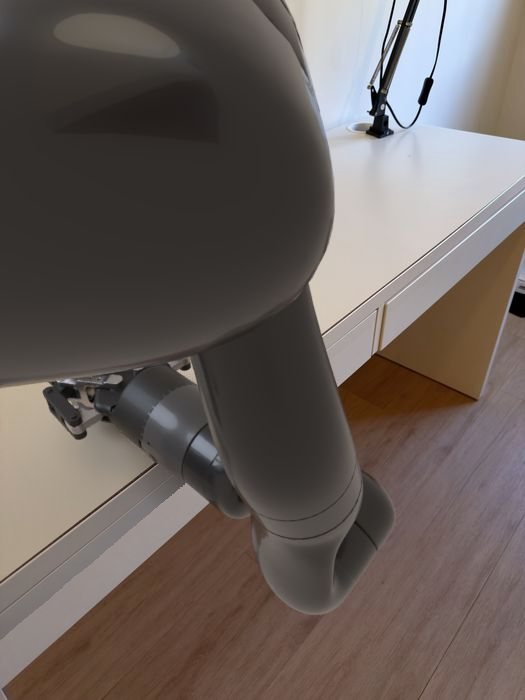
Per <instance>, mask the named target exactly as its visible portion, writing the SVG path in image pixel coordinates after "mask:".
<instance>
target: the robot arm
mask: <svg viewBox="0 0 525 700" xmlns="http://www.w3.org/2000/svg"><path fill="white" fill-rule="evenodd" d="M325 129H326V128H325V125H324V121H323V118H322V115H321V109H320V106H319V102H318V98H317V95H316V90H315V86H314V82H313V79H312V76H311V72H310V68H309V64H308V61H307V57H306V54H305V51H304V47H303V43H302V40H301V36H300V33H299V30H298V26H297V23H296V20H295V18H294V15H293V13H292V12H291V10H290V8H289V5H288V4H287V1H286V0H0V389H7V388H14V387H21V386H29V385H37V384H43V383H48V384H49V386H46V387H45V388H44V389H43V390H42V395H43V398H44V399H45V401H46V404H47V406H48V410H49V412H50V413H51V415H52V416H53V417H54V418H55V419H56V420H57V421H58V422H59V423H60V424H61V426H62V427H63V428H64V429H65V430H66V431H67V432H68V433H69V434H70V435H71V436H72V437H73V439H75V440H77V441H80V440H83V439H85V438H86V437H88V431H87V429H89V428H91V427H92V426H94V425H95V424H97V423H99V422H102V423H106V424H107V423H108V424H111V425H113V426H114V427H115V428H116V429H117V430H119V431H120V432H121V433H122V434H123V435H124V436H125V437H126V438H127V439H129V440H130V441H131V442H132V443H133V444H134V445H136V446H137V447H138V448H139V449H140V450H142V452H144V453H145V454H146V455H148V458H150V459H151V461H153V463H155V464H157V465H159V466H160V467H162V469H164V470H165V471H167V472H168V473H170V474H171V475H173V476H174V477H176V478H178V479H180V480H181V481H182V482H184V483H185V484H187V485H188V486H189V487H190V488H191V489H193V490H194V491H195V492H196V493H197V494H199V495H200V496H201V497H203V499H205V501H207V502H208V503H209V504H211V505H212V507H214V508H215V509H216V510H217V511H219V512H220V513H222V514H223V515H225V516H226V517H228V518H230V519H233V520H243V519H247V518H249V517H250V529H251V531H250V532H251V544H252V551H253V555H254V558H255V562H256V564H257V567H258V570H259V571H260V573H261V576H262V578H263V579H264V581H265V583H266V584H267V585H268V587H269V588H270V590H271V591H272V592H273V593H274V594H275V596H276V597H278V599H279V600H281V601H282V603H284V604H286V605H287V606H288V607H290V608H291V609H293V610H295V611H297V612H299V613H302V614H305V615H310V616H320V615H325V614H329V613H331V612H333V611H335V610H336V609H337V608H338V607H339V606H341V605H342V604H343V602H345V601H346V599H347V598H348V596H349V595H350V594H351V592H352V591H353V589H354V588H355V586H356V584H358V582H359V581H360V579H361V577H362V576H363V574H364V573H365V571H366V570H367V569H368V568H369V566H370V564H371V563H372V561H373V560H374V558H375V557H376V556H377V554H378V552H380V550H381V549H382V547H384V545H385V543H386V542H387V540H388V539H389V537H390V536H391V534H392V533H393V531H394V528H395V526H396V523H397V513H396V507H395V504H394V501H393V500H392V497H391V495H390V494H389V492H388V490H387V489H386V488H385V487H384V486H383V484H382V483H381V482H379V481H378V480H377V479H376V478H375V476H372V475H371V474H369V473H368V472H366V471H365V470H363V469H361V464H360V461H359V456H358V451H357V448H356V444H355V440H354V437H353V433H352V430H351V427H350V423H349V419H348V417H347V413H346V409H345V406H344V403H343V400H342V396H341V393H340V390H339V386H338V383H337V381H336V377H335V374H334V371H333V367H332V364H331V361H330V358H329V354H328V351H327V348H326V345H325V340H324V338H323V334H322V331H321V327H320V324H319V320H318V316H317V312H316V307H315V303H314V300H313V296H312V291H311V287H310V282H311V281H312V280H313V278H314V276H315V274H316V273H317V270H318V268H319V266H320V264H321V262H322V261H323V259H324V257H325V255H326V253H327V250H328V247H329V244H330V241H331V238H332V234H333V230H334V221H335V215H336V214H335V213H336V196H335V193H336V191H335V175H334V168H333V163H332V157H331V151H330V146H329V142H328V137H327V133H326V130H325ZM191 368H192V370H193V372H194V377H195V380H196V383H195V382H194V381H193V380H191V379H190V378H188V377H187V376H185V375H184V374H182V373H181V372H179V371H178V370H180V371H183V372H186V371H187V372H188V371H189V370H191ZM93 387H95V392H94V389H93ZM74 388H77V389H78V390H77V389H74ZM71 401H75V402H81V403H83V404H84V405H85V406H87V407H93V409H91V410H86V409H84V408H80V406H79V405H75V406H73V405H72V404H71Z"/></svg>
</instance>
